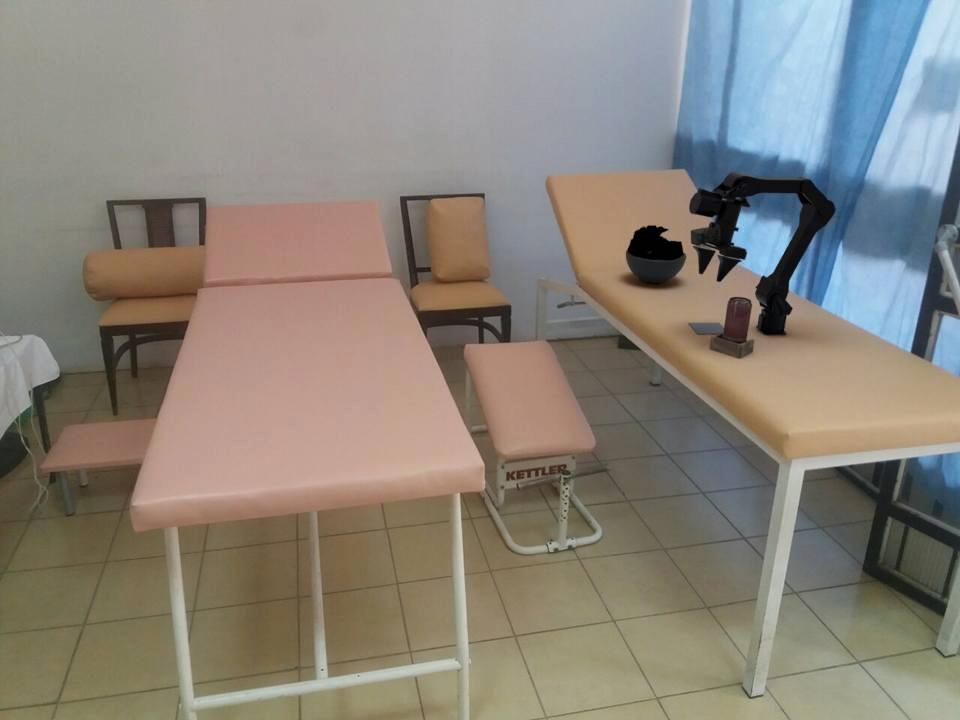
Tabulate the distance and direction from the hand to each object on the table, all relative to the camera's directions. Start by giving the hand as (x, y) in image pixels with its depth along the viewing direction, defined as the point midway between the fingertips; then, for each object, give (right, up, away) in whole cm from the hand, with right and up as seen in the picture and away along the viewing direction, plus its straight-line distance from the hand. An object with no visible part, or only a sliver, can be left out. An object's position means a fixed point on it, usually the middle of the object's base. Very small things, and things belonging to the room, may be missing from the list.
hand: (709, 277), depth 211 cm
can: (+6, -20, -2) cm, 21 cm away
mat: (+3, -13, +12) cm, 18 cm away
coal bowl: (-3, +4, +54) cm, 55 cm away
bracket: (+6, -19, -2) cm, 20 cm away
